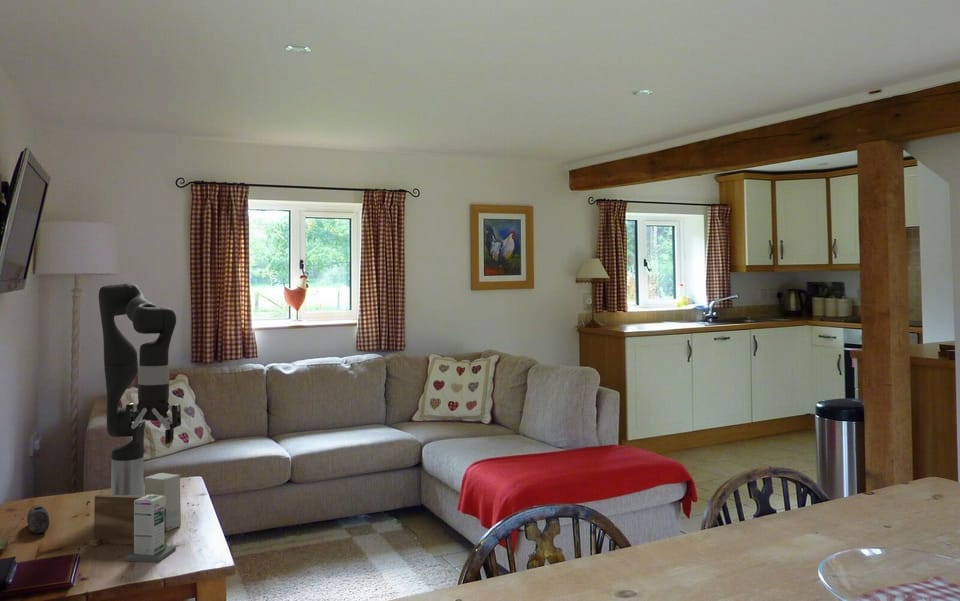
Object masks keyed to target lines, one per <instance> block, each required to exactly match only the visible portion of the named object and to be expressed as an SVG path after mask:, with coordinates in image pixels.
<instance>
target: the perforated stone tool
mask: <svg viewBox="0 0 960 601" xmlns="http://www.w3.org/2000/svg"><path fill="white" fill-rule="evenodd" d="M26 521H27V522H26V523H27V526H28V529H29V531H30V532H31V533H33V534H41V533H46V532H47V531H48V529H49V527H50V515H49V513H48V510H47V508H45V507H44V506H42V505H39V504H38V505H34V506H32V507H30V509H29V510H28V512H27V518H26Z"/></svg>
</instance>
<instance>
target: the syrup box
mask: <svg viewBox="0 0 960 601" xmlns="http://www.w3.org/2000/svg"><path fill="white" fill-rule="evenodd" d="M166 546H167V531H166V496H165V495H158V494H151V495H146V496H145V495H144V497H142V498H140V499H137V500H135V501H134V544H133V552H134V554H138V555H151V556H153V555H155V554H156V553H158V552H160V551H161V550H163V549H165V548H166Z"/></svg>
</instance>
